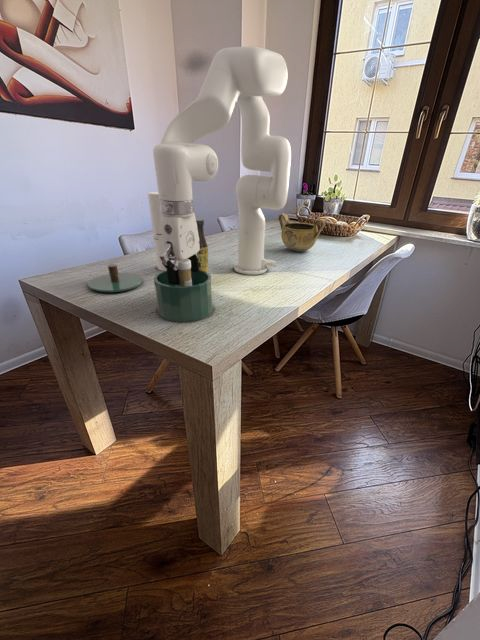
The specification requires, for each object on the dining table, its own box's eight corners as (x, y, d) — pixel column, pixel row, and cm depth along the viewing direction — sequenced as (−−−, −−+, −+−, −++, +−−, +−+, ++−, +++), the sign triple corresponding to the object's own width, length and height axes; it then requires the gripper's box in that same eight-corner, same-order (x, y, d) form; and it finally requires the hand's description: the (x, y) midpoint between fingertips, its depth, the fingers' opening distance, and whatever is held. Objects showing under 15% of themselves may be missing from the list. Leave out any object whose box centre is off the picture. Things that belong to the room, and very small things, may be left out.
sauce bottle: (200, 286, 101) (196, 222, 91) (186, 282, 104) (180, 219, 93) (213, 281, 106) (210, 219, 95) (199, 277, 109) (195, 216, 98)
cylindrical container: (172, 271, 112) (164, 195, 98) (154, 269, 113) (143, 193, 99) (180, 265, 118) (174, 192, 104) (163, 263, 119) (154, 191, 105)
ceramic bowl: (326, 251, 147) (332, 217, 139) (311, 258, 135) (317, 222, 127) (285, 242, 157) (288, 210, 149) (268, 249, 144) (270, 214, 136)
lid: (146, 276, 106) (144, 258, 103) (135, 294, 93) (131, 274, 90) (99, 275, 105) (95, 257, 101) (80, 293, 92) (75, 273, 88)
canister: (213, 299, 93) (212, 268, 88) (210, 322, 81) (209, 288, 76) (163, 298, 92) (159, 267, 87) (153, 322, 80) (148, 287, 74)
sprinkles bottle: (174, 308, 86) (168, 259, 79) (187, 303, 89) (183, 256, 82) (184, 313, 84) (179, 264, 76) (197, 308, 87) (194, 260, 79)
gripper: (171, 215, 65) (180, 292, 74) (208, 203, 78) (211, 269, 88) (140, 212, 66) (153, 287, 76) (182, 200, 80) (188, 265, 90)
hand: (184, 277), depth 82 cm, fingers open, 9 cm apart
